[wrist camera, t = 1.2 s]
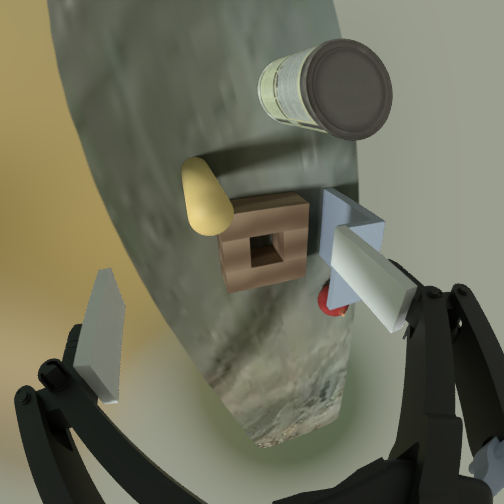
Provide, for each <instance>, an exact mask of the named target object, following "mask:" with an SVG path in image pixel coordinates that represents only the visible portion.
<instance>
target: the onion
mask: <svg viewBox="0 0 504 504" xmlns="http://www.w3.org/2000/svg"><path fill="white" fill-rule="evenodd" d="M328 292H329V285H327V286H325V287H323V288H322V290H321V291H320V293H319V295H318V305H319V307H320V309H321V310H322V311H323V312H324V313H325V314H327V315H330V316H340V315H341V316H344V315H345V313H346V311H347V309H348V306H349V305H346V306H342V307H339V308H336V309H332V310H329V309H328V307H327V306H326V305H327V299H328Z"/></svg>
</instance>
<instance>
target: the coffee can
mask: <svg viewBox="0 0 504 504" xmlns="http://www.w3.org/2000/svg"><path fill="white" fill-rule="evenodd" d="M258 96H259V100H260V103H261V105H262V107H263V109H264V110H265V111H266V113H267V114H268V115H269V116H270V117H271V118H273V119H274V120H276V121H277V122H279V123H281V124H284V125H289V126H297V127H302V128H307V129H311V130H315V131H320V132H324V133H328V134H331V135H333V136H335V137H338V138H341V139H345V140H362V139H365V138H368V137H370V136H371V135H373V134H375V133H376V132H377V131H378V130H379V129H380V128H381V127H382V126H383V124H384V123H385V122H386V120H387V118H388V115H389V113H390V110H391V105H392V85H391V81H390V77H389V74H388V72H387V70H386V68H385V66H384V64H383V63H382V61H381V60H380V58H379V57H378V56H377V55H376V54H375V53H374V52H373V51H372V50H371V49H369V48H368V47H367V46H365V45H363V44H361V43H359V42H357V41H354V40H350V39H334V40H330V41H327V42H325V43H322V44H321V45H318V46H314V47H312V48H309V49H306V50H303V51H300V52H297V53H294V54H292V55H289V56H286V57H284V58H280V59H277V60H275V61H273V62H272V63H270V64H269V65H268V66H267V67H266V68H265V69H264V71H263V72H262V74H261V76H260V78H259V82H258Z"/></svg>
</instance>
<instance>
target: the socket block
mask: <svg viewBox="0 0 504 504" xmlns="http://www.w3.org/2000/svg"><path fill="white" fill-rule="evenodd" d="M230 202H231V204H232V206H233V209H234V216H233V220H232V222H231V224H230V226H229V227H228V228H227V229H226V230H225V231H223V232H222V233H220V234H217V238H218V246H219V254H220V262H221V270H222V276H223V279H224V282H225V285H226V288H227V291H228V293H233V292H238V291H243V290H247V289H252V288H257V287H262V286H266V285H271V284H275V283H280V282H285V281H289V280H293V279H298V278H302V277H305V272H306V258H307V241H308V222H309V203H308V202H307V201H306V200H304V199H303V198H302V197H301V196H299V195H298V194H297V193H295V192H288V193H280V194H272V195H264V196H257V197H250V198H243V199H236V200H230ZM267 234H272V245H271V246H265V247H260V248H254V249H250V237H255V236H261V235H267Z"/></svg>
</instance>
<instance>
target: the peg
mask: <svg viewBox="0 0 504 504" xmlns="http://www.w3.org/2000/svg"><path fill="white" fill-rule="evenodd" d="M181 174H182V181H183V188H184V194H185V201H186V207H187V213H188V219H189V223H190V225H191V227H192V228H193V229H194V230H195V231H196V232H198V233H200V234H202V235H207V236H212V235H217V234H220V233H222V232H223V231H225V230H226V229H227V228H228V227H229V226H230V224H231V222H232V220H233V216H234V209H233V206H232V204H231V202H230V200H229V199H228V197H227V195H226V194H225V192H224V191H223V189H222V187H221V186H220V184H219V182H218V181H217V179H216V178H215V176H214V174H213V173H212V171H211V169H210V168H209V166H208V165H207V163H206V162H205V160H203V159H202V158H199V157H191V158H189V159H187V160H186V161H185V162H184V163H183V165H182V168H181Z"/></svg>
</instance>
